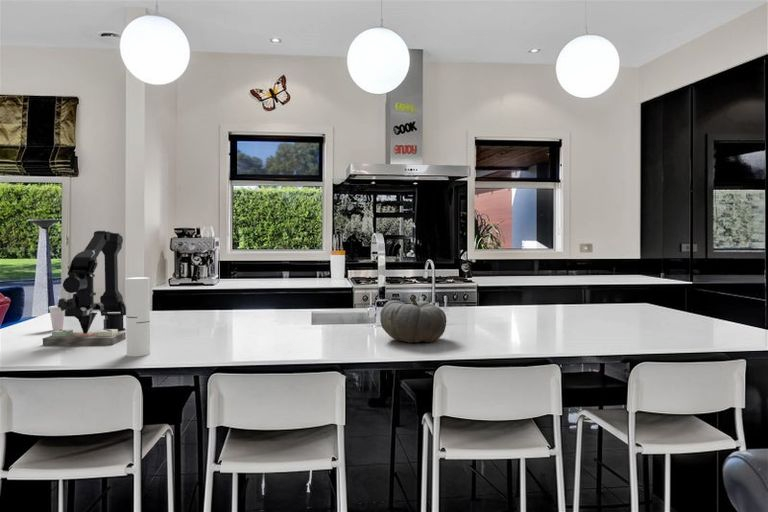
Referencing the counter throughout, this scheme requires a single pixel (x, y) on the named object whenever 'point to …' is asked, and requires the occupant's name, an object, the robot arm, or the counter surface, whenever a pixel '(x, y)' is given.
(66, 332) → the tile two
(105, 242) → the robot arm
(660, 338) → the counter surface
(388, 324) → the gourd
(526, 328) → the counter surface
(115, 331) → the tile three
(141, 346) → the cylindrical container
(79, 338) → the tile board
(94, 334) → the tile one
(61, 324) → the smoothie
